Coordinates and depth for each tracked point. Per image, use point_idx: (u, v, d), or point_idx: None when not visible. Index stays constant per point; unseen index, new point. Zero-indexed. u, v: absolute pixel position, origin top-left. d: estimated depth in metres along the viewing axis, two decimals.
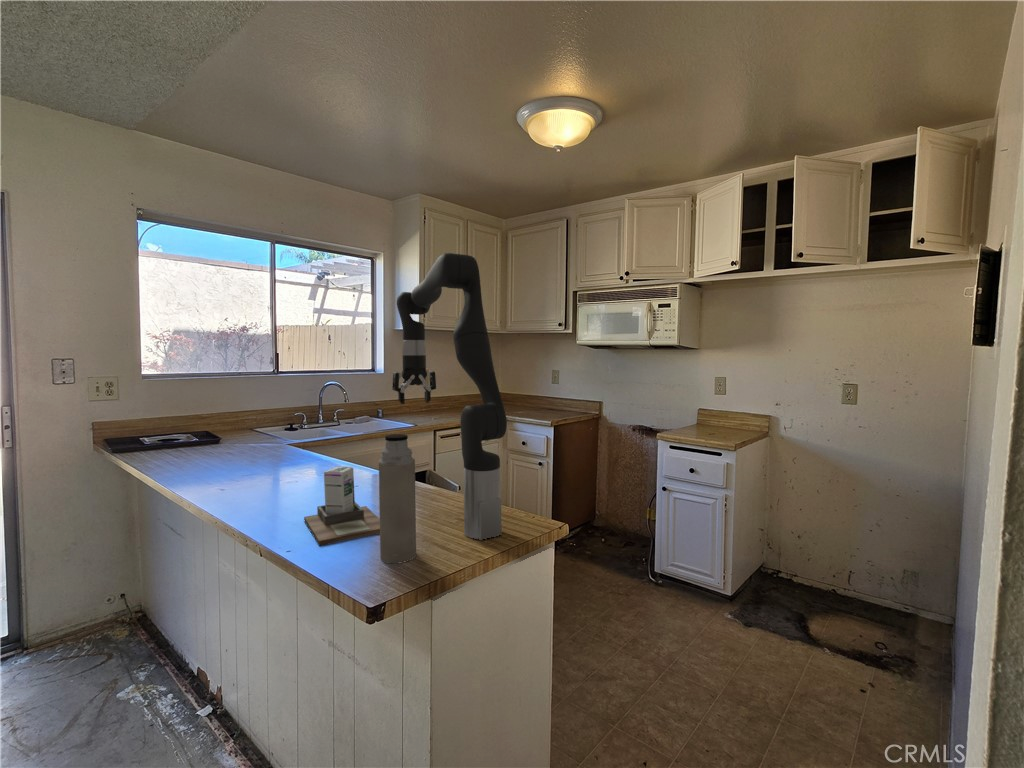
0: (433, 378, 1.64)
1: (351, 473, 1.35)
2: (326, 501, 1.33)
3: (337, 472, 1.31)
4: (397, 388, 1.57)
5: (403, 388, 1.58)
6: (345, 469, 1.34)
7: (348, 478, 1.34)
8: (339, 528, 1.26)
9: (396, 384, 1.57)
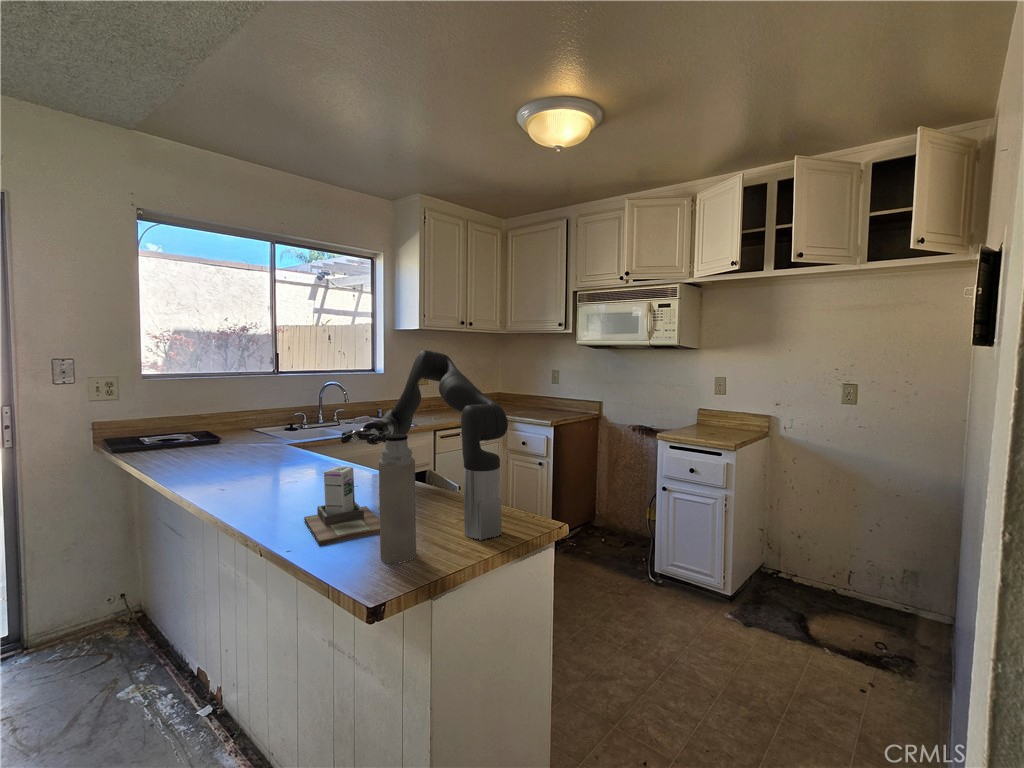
0: (387, 432, 1.52)
1: (351, 473, 1.35)
2: (326, 501, 1.33)
3: (337, 472, 1.31)
4: (343, 432, 1.51)
5: (350, 433, 1.50)
6: (345, 469, 1.34)
7: (348, 478, 1.34)
8: (339, 528, 1.26)
9: (345, 432, 1.52)
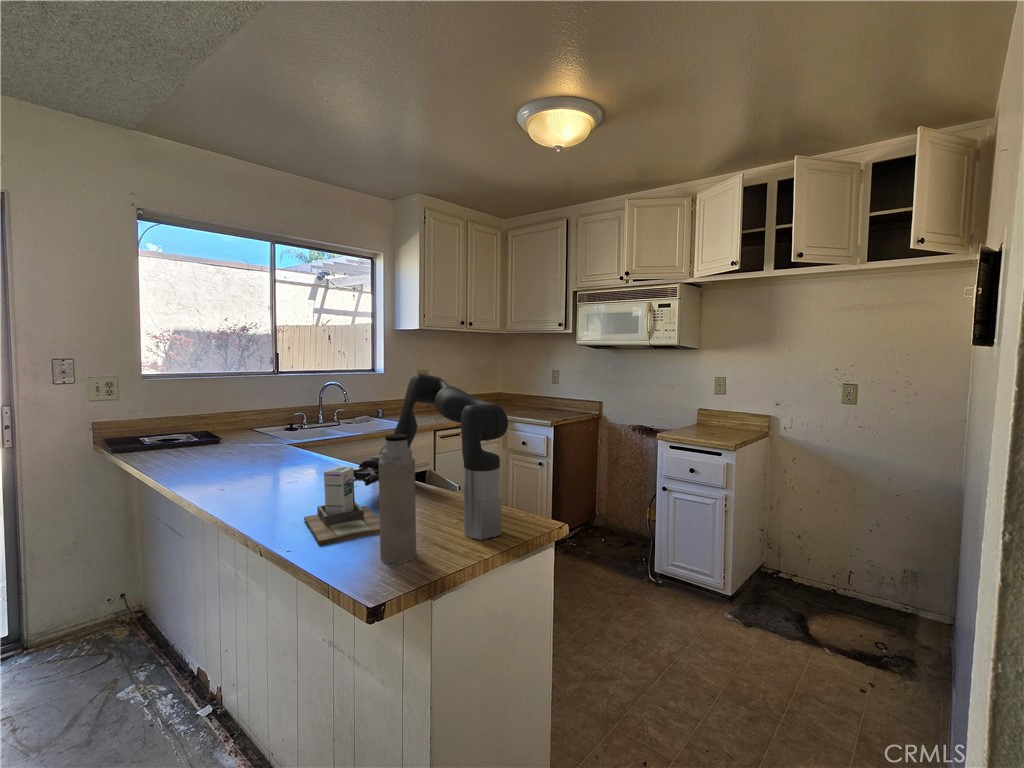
0: None
1: (351, 473, 1.35)
2: (326, 501, 1.33)
3: (337, 472, 1.31)
4: None
5: None
6: (345, 469, 1.34)
7: (348, 478, 1.34)
8: (339, 528, 1.26)
9: None
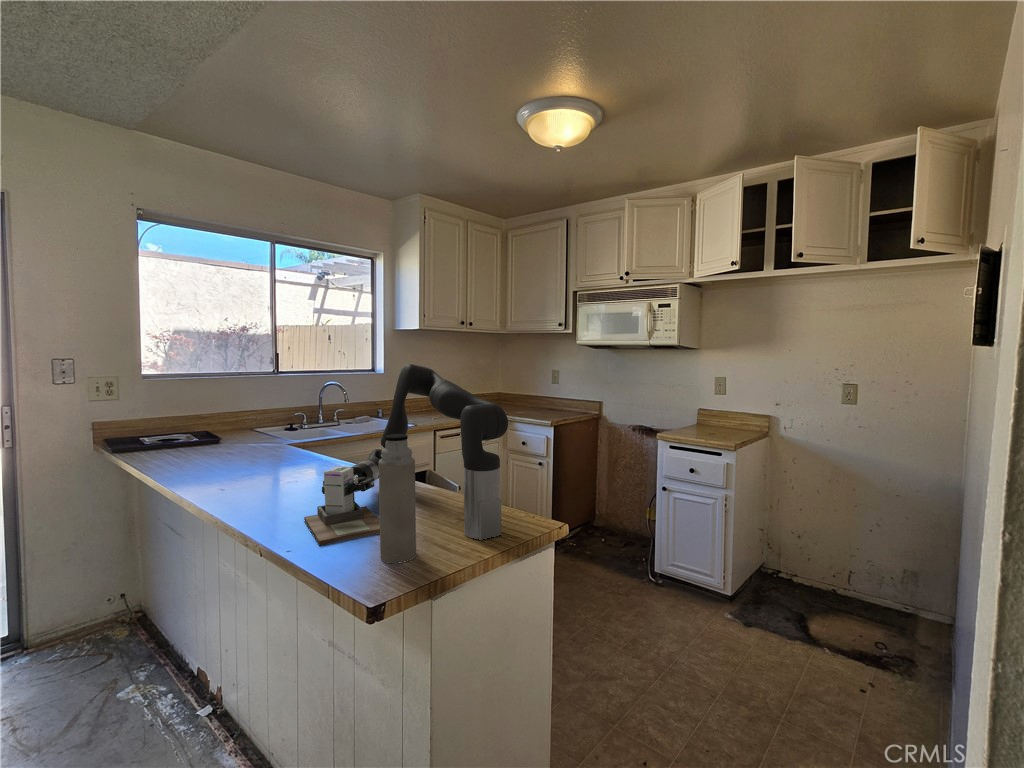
0: (368, 479, 1.39)
1: (351, 473, 1.35)
2: (326, 501, 1.33)
3: (337, 472, 1.31)
4: None
5: None
6: (345, 469, 1.34)
7: (348, 478, 1.34)
8: (339, 528, 1.26)
9: None
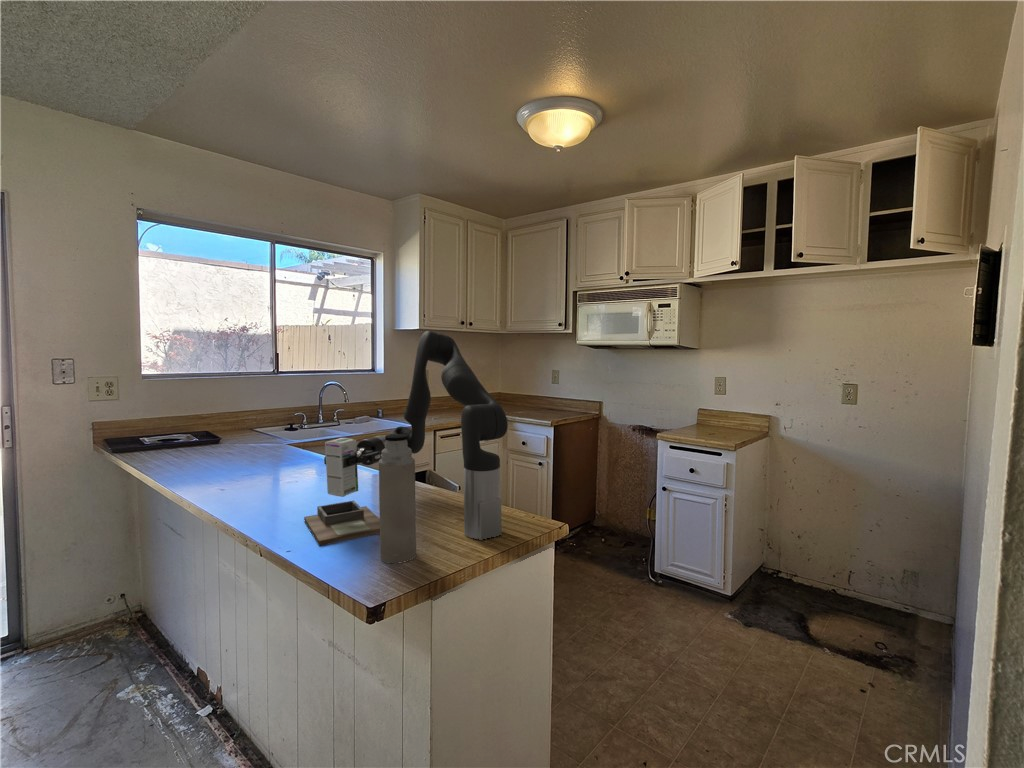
0: (372, 452, 1.34)
1: (353, 445, 1.31)
2: (327, 472, 1.30)
3: (336, 443, 1.28)
4: None
5: None
6: (346, 440, 1.30)
7: (348, 449, 1.30)
8: (339, 528, 1.26)
9: None
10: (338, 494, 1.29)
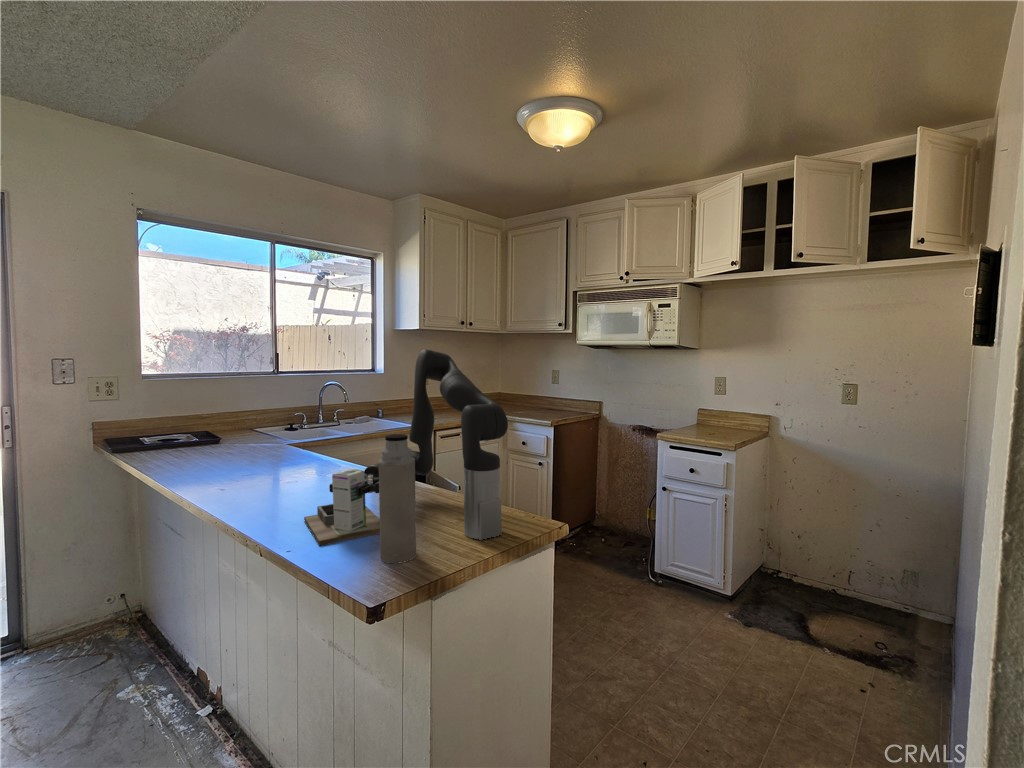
0: None
1: (361, 476, 1.27)
2: (334, 505, 1.25)
3: (344, 475, 1.23)
4: None
5: None
6: (354, 472, 1.25)
7: (356, 481, 1.25)
8: None
9: None
10: (346, 528, 1.24)
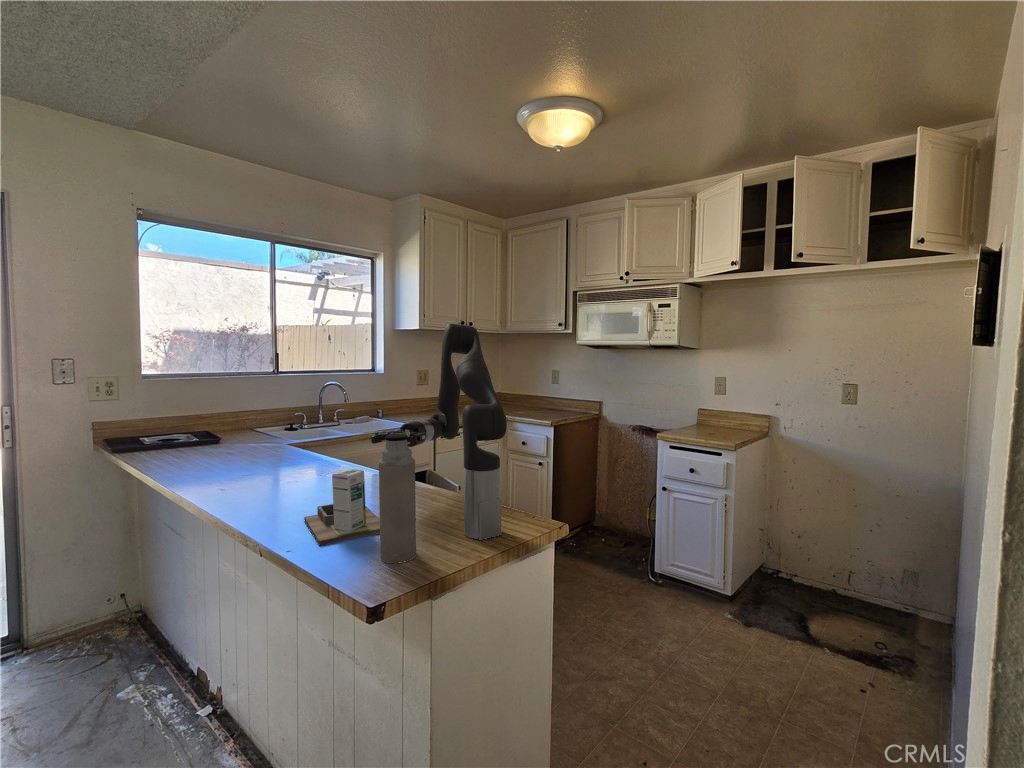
0: (419, 433, 1.43)
1: (361, 477, 1.27)
2: (334, 505, 1.25)
3: (344, 475, 1.23)
4: (377, 432, 1.45)
5: (383, 433, 1.44)
6: (354, 472, 1.25)
7: (356, 481, 1.25)
8: None
9: (380, 432, 1.46)
10: (346, 528, 1.24)
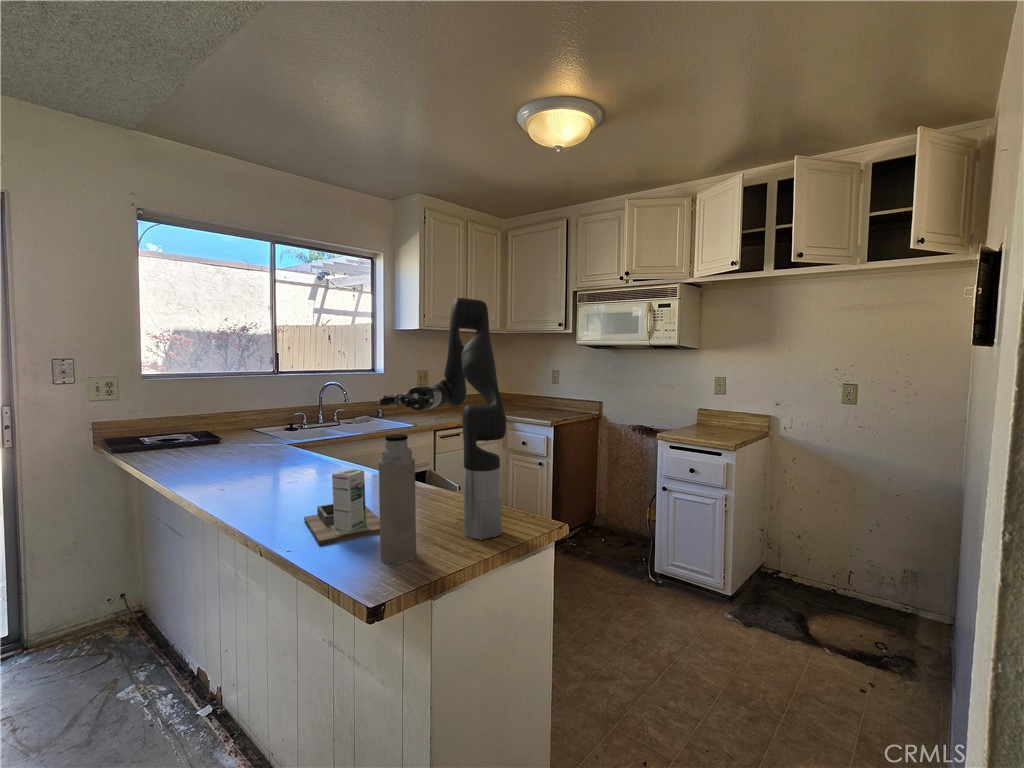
0: (427, 396, 1.44)
1: (361, 477, 1.27)
2: (334, 505, 1.25)
3: (344, 475, 1.23)
4: None
5: (392, 396, 1.46)
6: (354, 472, 1.25)
7: (356, 481, 1.25)
8: None
9: (388, 395, 1.48)
10: (346, 529, 1.24)
